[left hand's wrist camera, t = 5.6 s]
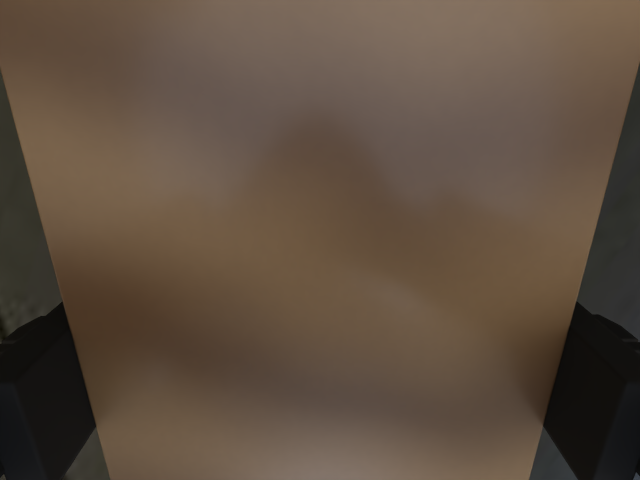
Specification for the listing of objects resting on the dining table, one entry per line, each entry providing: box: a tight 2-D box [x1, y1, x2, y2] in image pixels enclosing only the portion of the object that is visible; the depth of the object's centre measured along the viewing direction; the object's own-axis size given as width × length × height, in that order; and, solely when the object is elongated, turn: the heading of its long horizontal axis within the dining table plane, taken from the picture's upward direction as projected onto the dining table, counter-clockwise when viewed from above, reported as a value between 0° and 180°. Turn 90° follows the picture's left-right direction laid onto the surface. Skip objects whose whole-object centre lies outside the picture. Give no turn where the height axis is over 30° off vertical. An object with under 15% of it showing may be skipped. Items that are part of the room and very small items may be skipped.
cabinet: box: [0, 0, 640, 480], centre depth 11 cm, size 21×10×9 cm, turn 0°
